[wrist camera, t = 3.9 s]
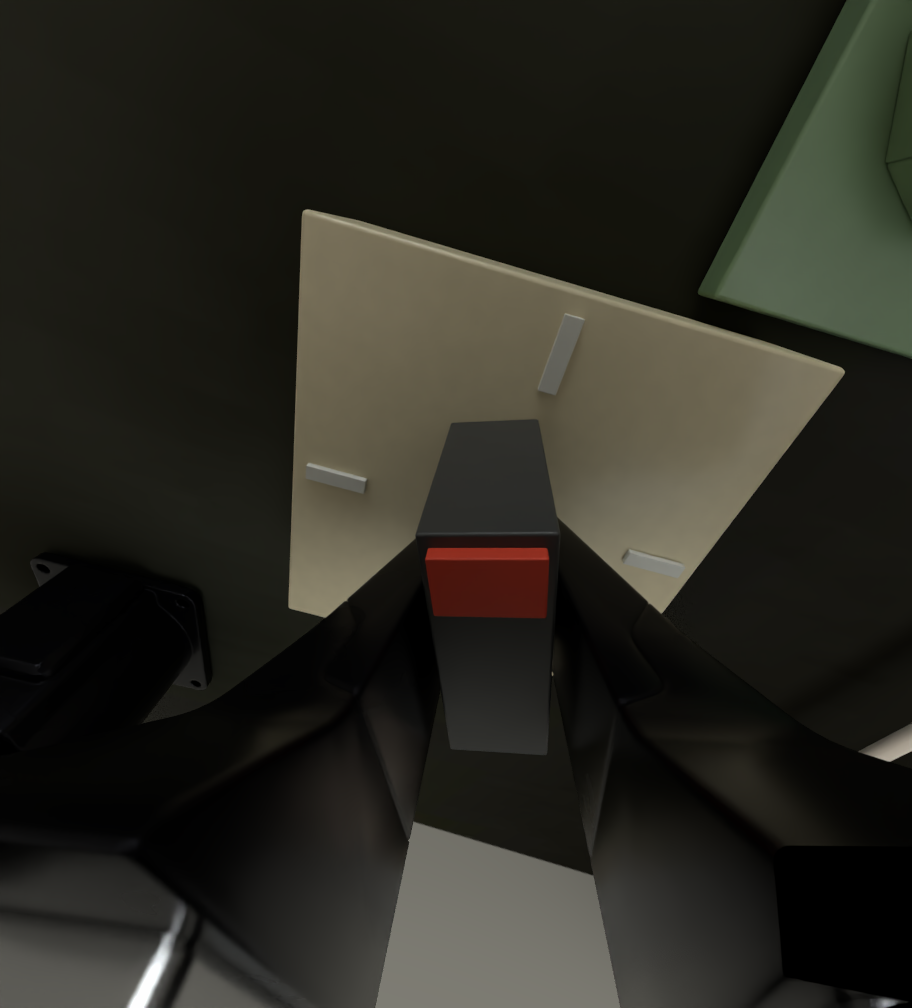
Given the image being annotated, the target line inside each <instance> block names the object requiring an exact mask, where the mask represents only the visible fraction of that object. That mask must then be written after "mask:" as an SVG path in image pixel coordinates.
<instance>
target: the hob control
mask: <svg viewBox="0 0 912 1008" xmlns="http://www.w3.org/2000/svg"><path fill="white" fill-rule="evenodd" d="M844 373H845V371H844V370H843V369H842V368H841V367H838V366H835V365H832V364H830V363H827V362H824V361H821V360H818V359H815V358H812V357H809V356H806V355H803V354H800V353H797V352H795V351H792V350H789V349H786V348H783V347H780V346H777V345H774V344H771V343H768V342H765V341H762V340H760V339H756V338H753V337H749V336H746V335H743V334H739V333H736V332H733V331H729V330H726V329H722V328H719V327H716V326H712V325H709V324H706V323H702V322H699V321H696V320H692V319H689V318H685V317H682V316H679V315H675V314H672V313H669V312H665V311H662V310H659V309H655V308H652V307H648V306H645V305H642V304H638V303H635V302H632V301H628V300H625V299H621V298H618V297H615V296H611V295H608V294H605V293H601V292H598V291H595V290H591V289H588V288H584V287H581V286H578V285H574V284H571V283H568V282H564V281H561V280H557V279H554V278H551V277H547V276H544V275H541V274H537V273H534V272H531V271H527V270H524V269H520V268H517V267H514V266H510V265H507V264H504V263H500V262H497V261H494V260H490V259H487V258H483V257H480V256H477V255H473V254H470V253H467V252H463V251H460V250H456V249H453V248H450V247H446V246H443V245H440V244H436V243H433V242H430V241H426V240H423V239H419V238H416V237H413V236H409V235H406V234H403V233H399V232H396V231H392V230H389V229H386V228H382V227H379V226H376V225H372V224H369V223H366V222H362V221H359V220H354V219H350V218H345V217H341V216H336V215H331V214H327V213H322V212H318V211H313V210H304V211H303V213H302V231H301V260H300V288H299V317H298V346H297V374H296V403H295V432H294V460H293V489H292V518H291V546H290V575H289V604H288V607H289V608H290V609H294V610H297V611H301V612H305V613H309V614H313V615H317V616H321V617H325V618H326V617H327V616H328V615H329V614H330V613H332V612H333V611H334V610H335V609H336V608H337V607H338V606H339V605H341V604H342V603H343V602H344V601H347V599H348V598H349V597H350V596H351V595H352V594H353V593H354V592H355V591H357V590H358V589H359V588H360V587H361V586H362V585H363V584H365V583H366V582H367V581H368V580H369V579H370V578H371V577H372V576H374V575H375V574H376V573H377V572H378V571H379V570H380V569H381V568H383V567H384V566H385V565H386V564H387V563H388V562H389V561H390V560H392V559H393V558H394V557H395V556H396V555H397V554H398V553H400V552H401V551H402V550H403V549H404V548H405V547H406V546H407V545H409V544H410V543H411V542H412V541H413V540H414V539H415V534H416V531H417V528H418V525H419V522H420V519H421V515H422V512H423V509H424V506H425V503H426V500H427V497H428V494H429V491H430V488H431V484H432V481H433V478H434V475H435V472H436V469H437V466H438V463H439V460H440V457H441V453H442V450H443V447H444V444H445V441H446V438H447V435H448V432H449V429H450V425H451V423H458V422H481V421H504V420H528V419H537V420H538V421H539V426H540V431H541V436H542V441H543V446H544V452H545V457H546V462H547V467H548V472H549V478H550V483H551V488H552V493H553V498H554V504H555V509H556V514H557V517H558V518H559V519H560V520H561V521H562V522H563V523H564V524H566V525H567V526H568V527H569V528H570V529H571V530H572V531H573V532H574V533H575V534H576V535H577V536H578V537H579V538H581V539H582V540H583V541H584V542H585V543H586V544H587V545H588V546H589V547H590V548H591V549H592V550H593V551H595V552H596V553H597V554H598V555H599V556H600V557H601V558H602V559H603V560H604V561H605V562H606V563H607V564H608V565H610V566H611V567H612V568H613V569H614V570H615V571H616V572H617V573H618V574H619V575H620V576H621V577H622V578H623V579H625V580H626V581H627V582H628V583H629V584H630V585H631V586H632V587H633V588H634V589H635V590H636V591H637V592H638V593H640V594H641V595H642V596H643V597H644V598H645V599H646V600H647V601H648V604H652V605H653V606H654V607H655V608H656V609H657V610H658V611H659V612H660V613H661V614H662V613H663V611H664V610H665V609H666V608H667V606H668V605H669V604H670V602H671V601H672V600H673V598H674V597H675V596H676V594H677V593H678V592H679V590H680V589H681V588H682V587H683V585H684V584H685V583H686V581H687V580H688V579H689V577H690V576H691V575H692V573H693V572H694V571H695V569H696V568H697V567H698V566H699V564H700V563H701V562H702V560H703V559H704V558H705V556H706V555H707V554H708V552H709V551H710V550H711V549H712V547H713V546H714V545H715V543H716V542H717V541H718V539H719V538H720V537H721V535H722V534H723V533H724V531H725V530H726V529H727V528H728V526H729V525H730V524H731V522H732V521H733V520H734V518H735V517H736V516H737V514H738V513H739V512H740V511H741V509H742V508H743V507H744V505H745V504H746V503H747V501H748V500H749V499H750V497H751V496H752V495H753V493H754V492H755V491H756V490H757V488H758V487H759V486H760V484H761V483H762V482H763V480H764V479H765V478H766V476H767V475H768V474H769V472H770V471H771V470H772V469H773V467H774V466H775V465H776V463H777V462H778V461H779V459H780V458H781V457H782V455H783V454H784V453H785V452H786V450H787V449H788V448H789V446H790V445H791V444H792V442H793V441H794V440H795V438H796V437H797V436H798V434H799V433H800V432H801V431H802V429H803V428H804V427H805V425H806V424H807V423H808V421H809V420H810V419H811V417H812V416H813V415H814V414H815V412H816V411H817V410H818V408H819V407H820V406H821V404H822V403H823V402H824V400H825V399H826V398H827V396H828V395H829V394H830V393H831V391H832V390H833V389H834V387H835V386H836V385H837V383H838V382H839V381H840V379H841V378H842V377H843V375H844ZM552 675H553V672H552Z"/></svg>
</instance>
